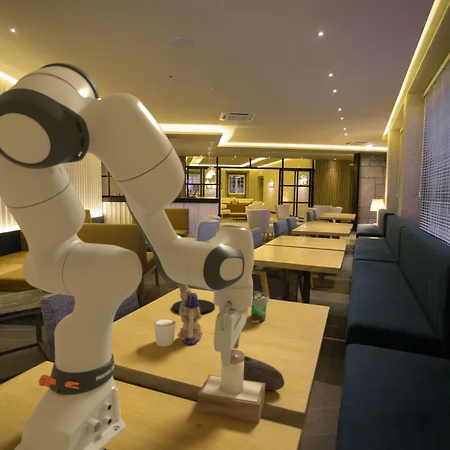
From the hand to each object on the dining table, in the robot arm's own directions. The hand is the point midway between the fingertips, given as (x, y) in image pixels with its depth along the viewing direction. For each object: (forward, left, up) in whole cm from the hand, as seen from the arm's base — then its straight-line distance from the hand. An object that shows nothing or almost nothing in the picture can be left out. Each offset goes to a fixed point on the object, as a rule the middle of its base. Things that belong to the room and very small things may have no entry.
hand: (230, 355), depth 80 cm
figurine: (+33, +22, -12) cm, 41 cm away
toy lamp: (+29, +20, -12) cm, 37 cm away
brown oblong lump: (+10, -4, -12) cm, 16 cm away
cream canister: (0, 0, -8) cm, 8 cm away
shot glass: (+27, +28, -12) cm, 41 cm away
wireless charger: (+61, +30, -12) cm, 69 cm away
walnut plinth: (0, -1, -12) cm, 12 cm away
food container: (+56, +1, -12) cm, 57 cm away
